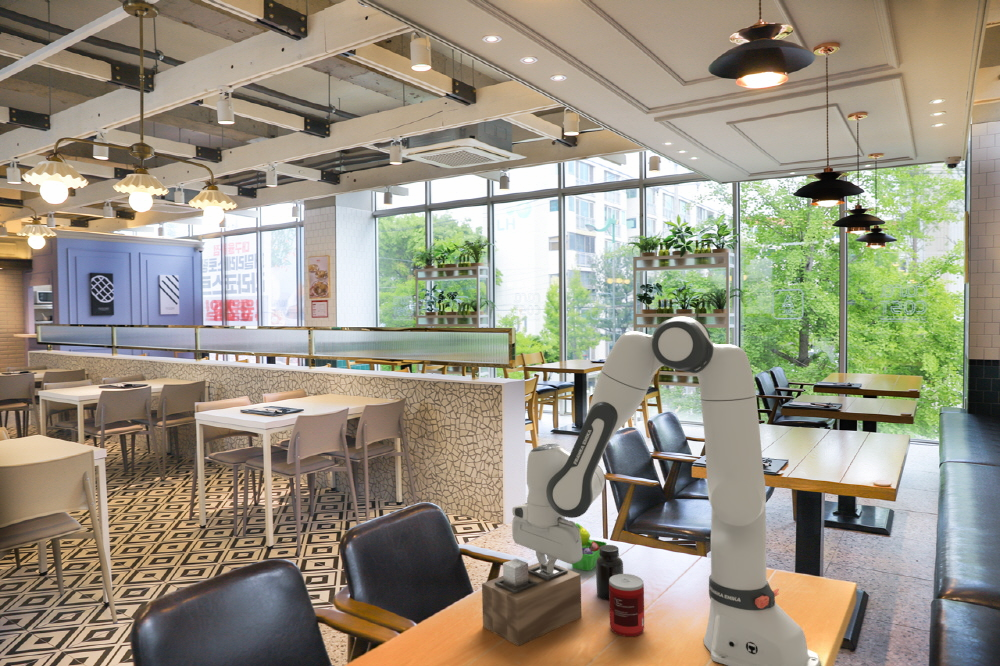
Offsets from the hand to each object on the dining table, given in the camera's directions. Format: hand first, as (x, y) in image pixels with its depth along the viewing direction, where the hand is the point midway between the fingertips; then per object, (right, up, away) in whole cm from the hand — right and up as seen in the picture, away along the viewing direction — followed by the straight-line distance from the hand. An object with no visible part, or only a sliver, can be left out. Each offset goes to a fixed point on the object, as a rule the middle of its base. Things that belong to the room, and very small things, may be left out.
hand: (546, 571), depth 156 cm
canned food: (+17, -11, -7) cm, 22 cm away
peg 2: (0, -9, 0) cm, 9 cm away
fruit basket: (+13, -9, +31) cm, 35 cm away
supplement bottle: (+17, -10, +10) cm, 22 cm away
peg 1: (-7, -5, -6) cm, 11 cm away
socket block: (-3, -11, -3) cm, 11 cm away
